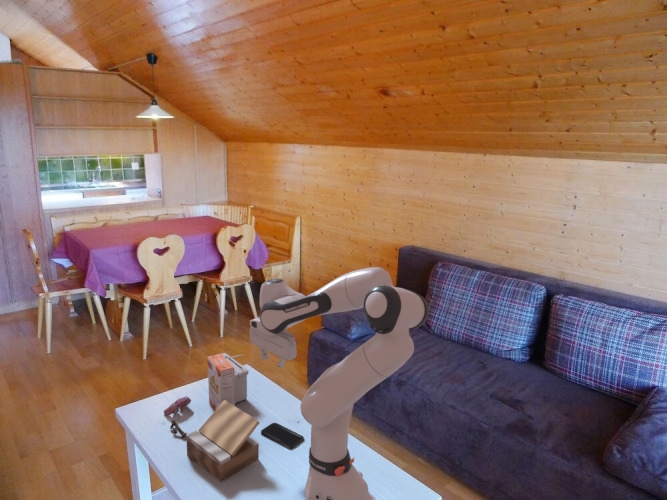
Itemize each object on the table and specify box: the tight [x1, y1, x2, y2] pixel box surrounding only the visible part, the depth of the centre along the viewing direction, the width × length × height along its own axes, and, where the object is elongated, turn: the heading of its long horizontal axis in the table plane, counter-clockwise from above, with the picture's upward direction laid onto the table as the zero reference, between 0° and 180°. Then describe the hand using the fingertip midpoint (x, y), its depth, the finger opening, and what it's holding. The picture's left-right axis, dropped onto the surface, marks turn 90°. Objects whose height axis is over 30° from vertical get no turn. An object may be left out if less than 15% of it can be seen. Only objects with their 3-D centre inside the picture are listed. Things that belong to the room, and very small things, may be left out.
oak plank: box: [197, 400, 260, 456], centre depth 162 cm, size 18×13×2 cm
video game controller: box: [163, 395, 192, 417], centre depth 186 cm, size 10×5×7 cm, turn 148°
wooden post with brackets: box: [169, 418, 188, 439], centre depth 174 cm, size 2×8×4 cm, turn 54°
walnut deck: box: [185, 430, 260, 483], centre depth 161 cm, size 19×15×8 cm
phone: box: [260, 422, 305, 450], centre depth 174 cm, size 8×1×15 cm
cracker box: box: [206, 352, 236, 411], centre depth 186 cm, size 14×6×21 cm, turn 33°
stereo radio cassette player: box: [221, 352, 249, 404], centre depth 200 cm, size 21×8×20 cm, turn 40°
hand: (272, 363), depth 166 cm, fingers open, 7 cm apart
